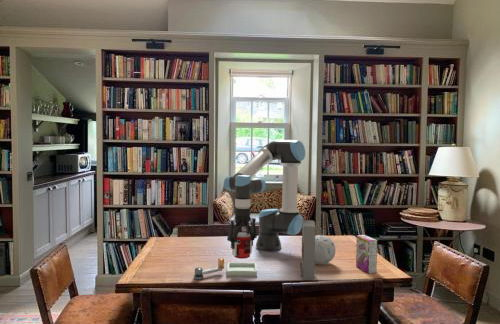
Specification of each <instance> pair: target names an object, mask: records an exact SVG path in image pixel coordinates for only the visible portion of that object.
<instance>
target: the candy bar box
mask: <svg viewBox="0 0 500 324" xmlns="http://www.w3.org/2000/svg"><path fill="white" fill-rule="evenodd" d="M355 245H356V246H355V247H356V249H355V251H356V252H355V254H356V255H355V259H356V261H355V266H356V267H357V268H358V269H360V270H362V271H364V272H365V273H366V274H375V273H377V269H378V267H377V263H378V262H377V260H378V240H377V239H375V238H373V237H371V236H368V235H366V234H358V235H356V244H355Z"/></svg>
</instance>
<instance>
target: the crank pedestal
mask: <svg viewBox="0 0 500 324" xmlns="http://www.w3.org/2000/svg"><path fill="white" fill-rule="evenodd" d="M193 280H195V281H202V280H204V275H202V276H200V277H196V276H195V274H194V275H193Z"/></svg>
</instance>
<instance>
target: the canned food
mask: <svg viewBox="0 0 500 324" xmlns="http://www.w3.org/2000/svg"><path fill="white" fill-rule="evenodd" d="M250 241H251V235H250V234H249V233H247V232H245V231H243V232H241V231H239V232H238V235H237V238H236V240H235V242H237V248H236V256H234V255H233V256H234V258H236V259H240V260H241V259H242V260H243V259H249V258H250V257H251V254H250Z"/></svg>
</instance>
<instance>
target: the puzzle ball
mask: <svg viewBox="0 0 500 324" xmlns="http://www.w3.org/2000/svg"><path fill="white" fill-rule="evenodd" d="M335 255H336V246H335V243H334V242H333V240H332V239H331V238H330V237H328V236H326V235H323V234H318V235H315V264H316V265H320V266H324V265H326V264H329V263H330V262H331V261H333V259H334V258H335Z"/></svg>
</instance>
